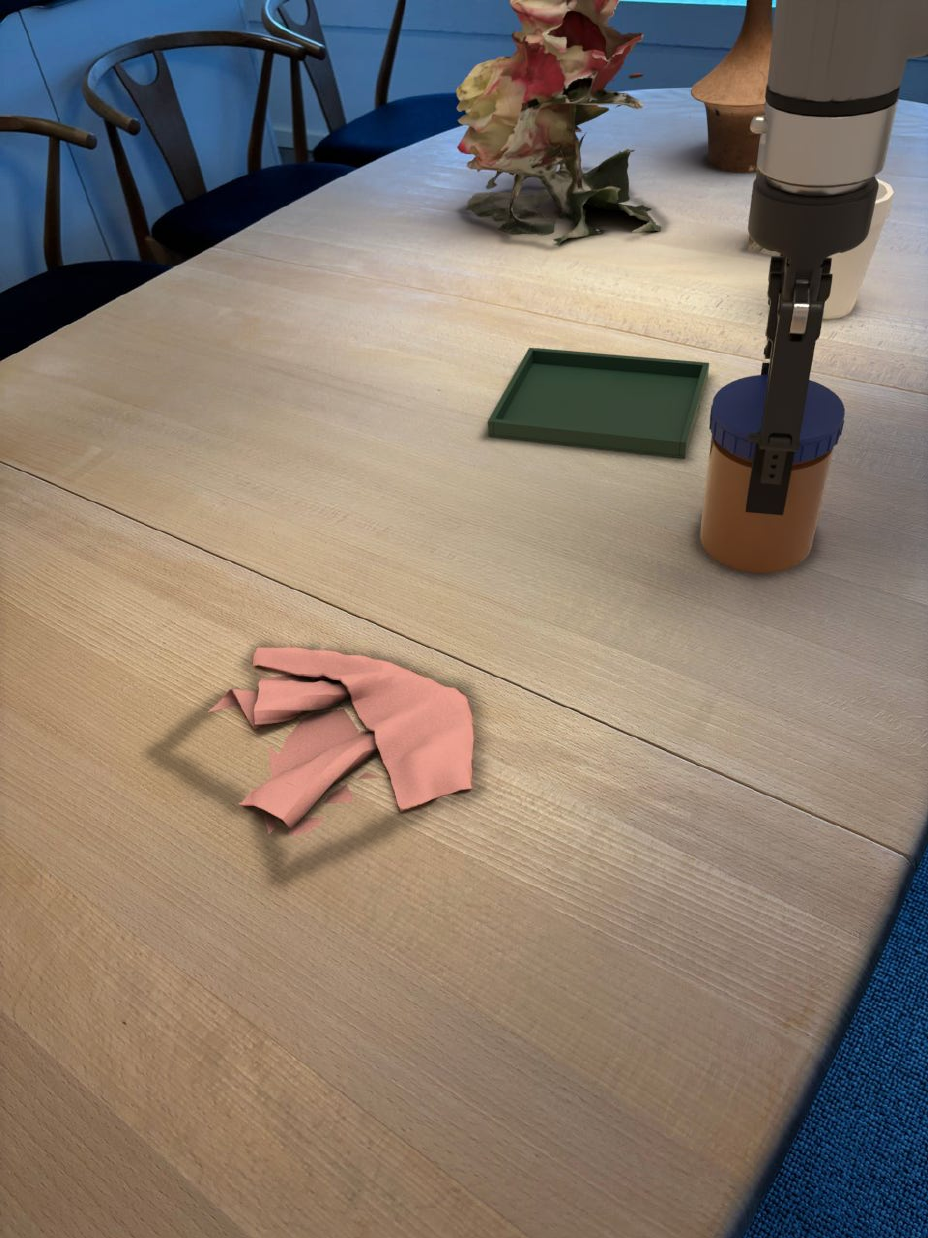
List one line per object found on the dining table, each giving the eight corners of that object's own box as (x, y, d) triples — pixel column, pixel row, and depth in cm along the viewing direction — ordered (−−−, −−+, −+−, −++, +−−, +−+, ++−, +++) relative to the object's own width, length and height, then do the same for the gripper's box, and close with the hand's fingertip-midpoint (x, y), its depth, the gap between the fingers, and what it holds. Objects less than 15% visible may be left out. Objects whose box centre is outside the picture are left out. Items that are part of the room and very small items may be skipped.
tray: (707, 379, 98) (709, 362, 97) (684, 460, 88) (686, 442, 87) (529, 364, 104) (529, 347, 102) (488, 438, 93) (487, 421, 92)
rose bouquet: (588, 167, 148) (590, -68, 127) (684, 229, 127) (705, -39, 107) (433, 201, 142) (410, -39, 122) (508, 271, 122) (495, -3, 101)
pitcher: (732, 136, 153) (755, -77, 134) (826, 155, 143) (865, -71, 124) (663, 167, 145) (676, -54, 126) (757, 189, 135) (787, -47, 116)
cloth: (515, 796, 62) (514, 774, 60) (183, 912, 58) (171, 890, 56) (421, 605, 76) (417, 582, 75) (149, 686, 72) (139, 663, 70)
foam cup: (773, 322, 106) (792, 203, 97) (785, 287, 112) (803, 172, 103) (863, 330, 103) (890, 209, 94) (870, 294, 109) (896, 176, 100)
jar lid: (773, 383, 76) (776, 361, 75) (868, 433, 70) (874, 409, 69) (683, 424, 73) (685, 401, 72) (774, 480, 67) (778, 456, 66)
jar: (814, 515, 81) (841, 394, 73) (807, 582, 75) (835, 459, 67) (707, 501, 83) (721, 383, 75) (692, 566, 77) (706, 445, 69)
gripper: (760, 119, 68) (726, 397, 83) (746, 243, 52) (706, 555, 68) (872, 118, 66) (816, 402, 81) (891, 246, 50) (817, 566, 66)
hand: (766, 472), depth 74 cm, fingers closed on jar lid, 9 cm apart
